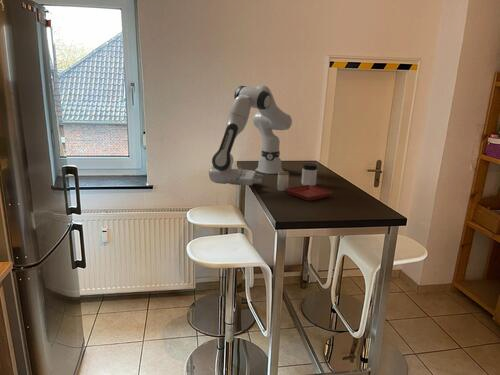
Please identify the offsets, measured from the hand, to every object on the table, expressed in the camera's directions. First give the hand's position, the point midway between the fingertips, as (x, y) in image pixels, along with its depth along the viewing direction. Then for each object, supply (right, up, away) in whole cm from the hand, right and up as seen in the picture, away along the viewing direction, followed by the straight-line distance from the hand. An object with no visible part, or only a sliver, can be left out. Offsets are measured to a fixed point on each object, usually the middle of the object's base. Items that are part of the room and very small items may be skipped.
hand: (262, 178), depth 218 cm
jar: (+28, -3, +14) cm, 31 cm away
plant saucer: (+24, -10, -9) cm, 27 cm away
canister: (+11, -6, 0) cm, 13 cm away
